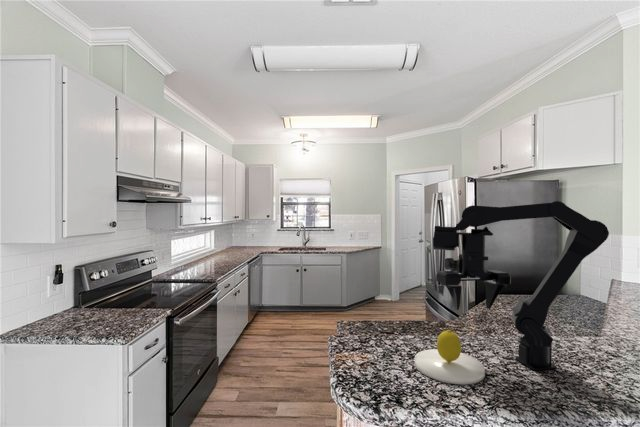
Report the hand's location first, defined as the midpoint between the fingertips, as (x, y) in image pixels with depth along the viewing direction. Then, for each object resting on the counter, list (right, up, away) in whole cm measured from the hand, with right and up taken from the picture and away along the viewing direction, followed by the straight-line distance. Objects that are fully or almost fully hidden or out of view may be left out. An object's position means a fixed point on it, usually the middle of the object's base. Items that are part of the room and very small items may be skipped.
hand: (472, 309), depth 89 cm
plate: (-10, -12, -8) cm, 18 cm away
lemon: (-10, -11, -9) cm, 17 cm away
